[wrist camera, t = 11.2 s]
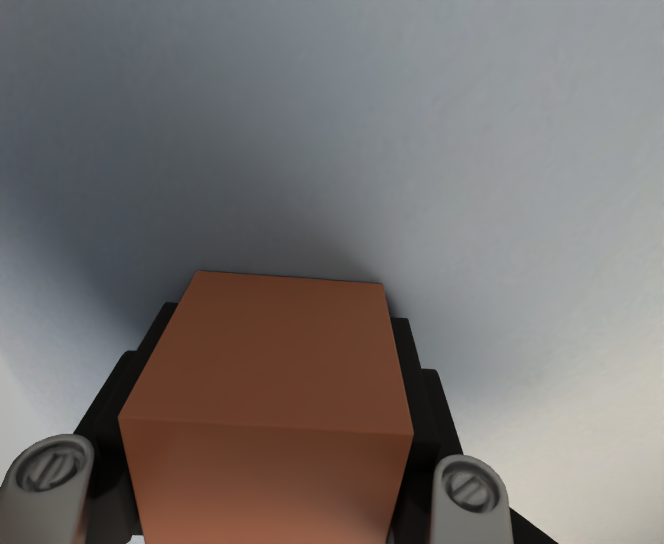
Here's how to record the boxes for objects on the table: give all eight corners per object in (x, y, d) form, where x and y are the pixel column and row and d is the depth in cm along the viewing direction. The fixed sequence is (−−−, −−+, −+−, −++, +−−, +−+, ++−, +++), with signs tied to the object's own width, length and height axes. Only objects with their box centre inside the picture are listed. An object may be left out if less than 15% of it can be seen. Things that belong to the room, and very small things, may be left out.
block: (206, 405, 13) (150, 576, 9) (196, 269, 11) (115, 417, 7) (361, 414, 13) (375, 585, 9) (383, 282, 11) (415, 434, 7)
